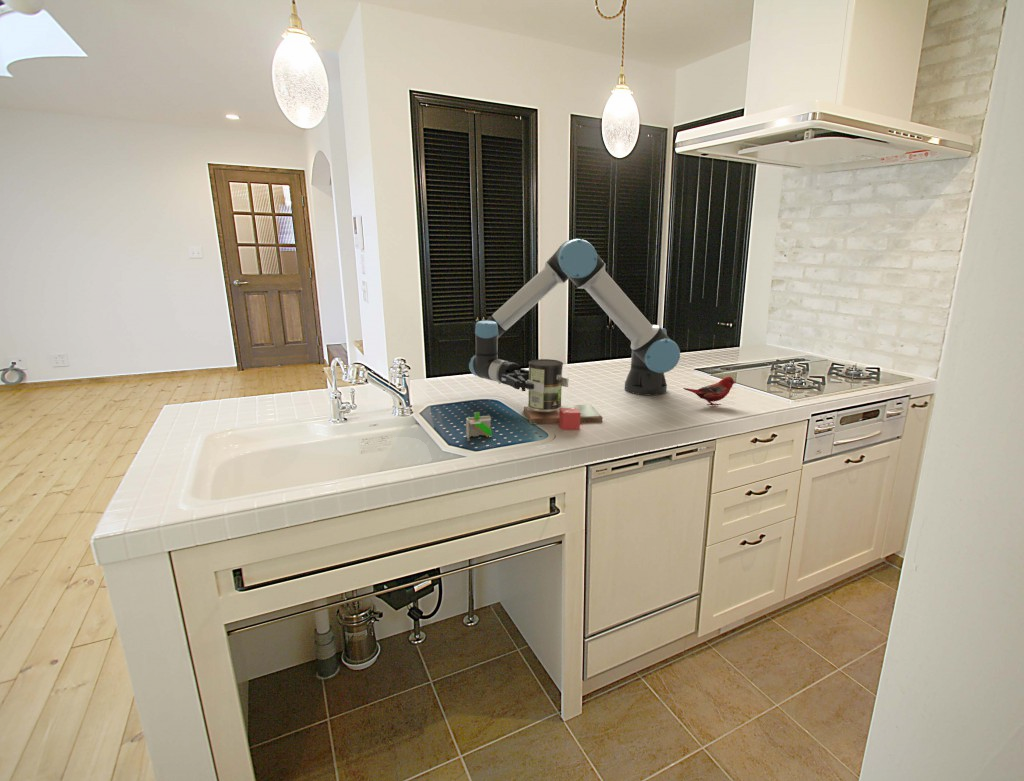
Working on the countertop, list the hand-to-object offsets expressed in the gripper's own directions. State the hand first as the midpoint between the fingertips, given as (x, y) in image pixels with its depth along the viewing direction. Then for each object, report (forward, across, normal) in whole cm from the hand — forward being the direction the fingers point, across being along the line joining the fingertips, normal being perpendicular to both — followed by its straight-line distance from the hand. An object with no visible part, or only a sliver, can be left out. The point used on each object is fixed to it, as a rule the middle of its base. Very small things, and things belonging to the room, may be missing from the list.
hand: (555, 385), depth 157 cm
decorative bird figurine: (+23, -50, -11) cm, 56 cm away
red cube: (+7, +1, -11) cm, 13 cm away
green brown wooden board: (-1, -4, -11) cm, 12 cm away
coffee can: (-4, 0, -8) cm, 9 cm away
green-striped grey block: (-4, +26, -12) cm, 29 cm away
